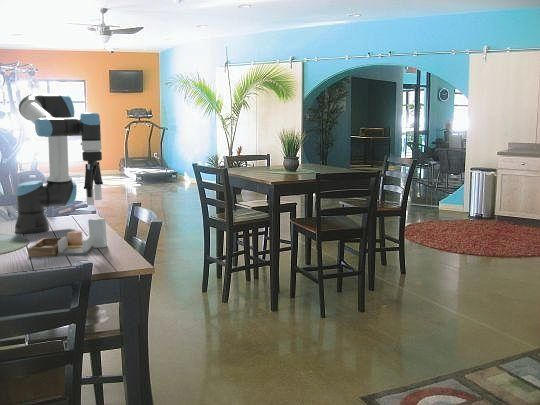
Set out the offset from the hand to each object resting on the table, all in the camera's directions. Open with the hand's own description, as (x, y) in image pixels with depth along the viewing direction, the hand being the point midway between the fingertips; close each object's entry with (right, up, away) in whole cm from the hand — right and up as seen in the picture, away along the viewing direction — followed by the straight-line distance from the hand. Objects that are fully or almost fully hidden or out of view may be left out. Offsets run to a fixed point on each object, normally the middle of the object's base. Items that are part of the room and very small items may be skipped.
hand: (94, 202), depth 230 cm
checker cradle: (-6, -20, -5) cm, 22 cm away
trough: (-17, -20, -4) cm, 27 cm away
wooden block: (-10, -19, +5) cm, 21 cm away
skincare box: (0, -19, +3) cm, 19 cm away
